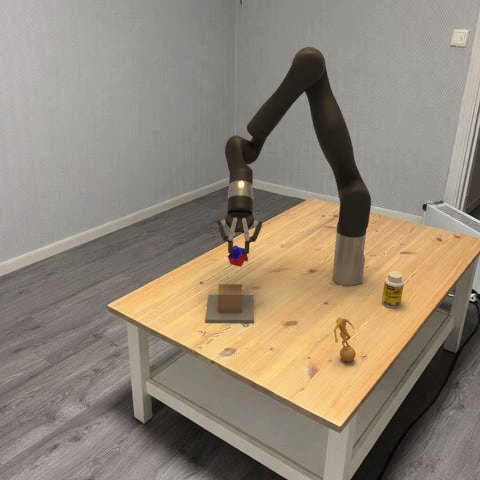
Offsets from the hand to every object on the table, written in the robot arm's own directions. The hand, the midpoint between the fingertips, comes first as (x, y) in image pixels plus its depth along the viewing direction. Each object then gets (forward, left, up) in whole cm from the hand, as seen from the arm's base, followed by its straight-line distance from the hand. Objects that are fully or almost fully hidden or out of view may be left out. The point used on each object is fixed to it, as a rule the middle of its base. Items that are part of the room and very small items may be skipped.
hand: (238, 254), depth 151 cm
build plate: (+2, 0, -18) cm, 19 cm away
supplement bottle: (-47, -4, -19) cm, 50 cm away
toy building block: (0, -2, -4) cm, 5 cm away
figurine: (-28, +23, -19) cm, 41 cm away
